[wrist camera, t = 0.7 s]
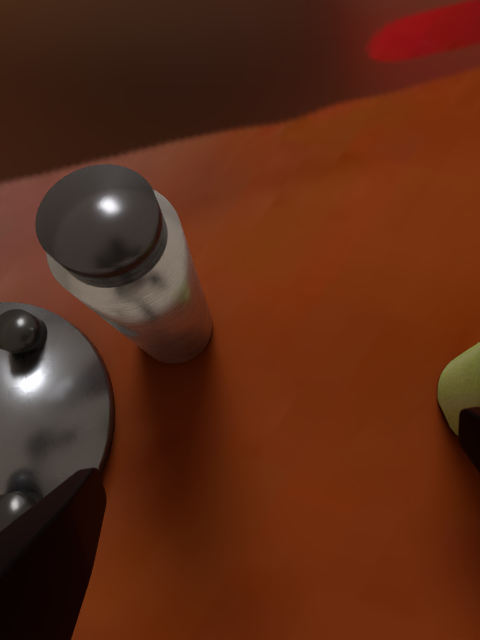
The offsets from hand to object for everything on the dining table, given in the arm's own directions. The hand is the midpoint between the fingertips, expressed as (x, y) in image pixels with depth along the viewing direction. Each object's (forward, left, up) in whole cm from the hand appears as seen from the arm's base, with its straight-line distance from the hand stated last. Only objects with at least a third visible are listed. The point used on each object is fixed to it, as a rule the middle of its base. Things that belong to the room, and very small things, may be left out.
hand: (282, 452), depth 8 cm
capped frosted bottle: (+5, +8, -13) cm, 16 cm away
